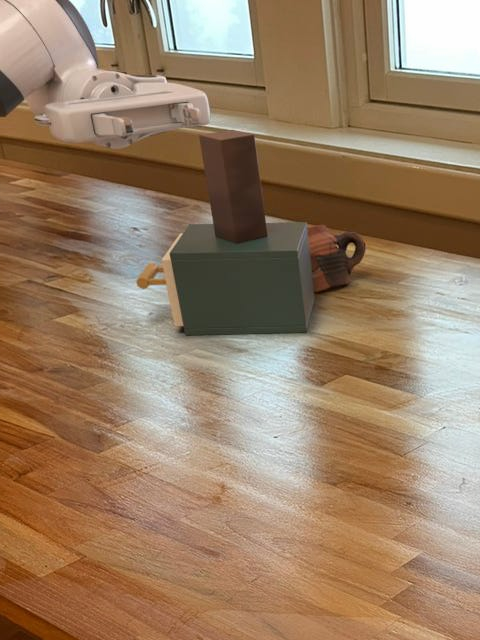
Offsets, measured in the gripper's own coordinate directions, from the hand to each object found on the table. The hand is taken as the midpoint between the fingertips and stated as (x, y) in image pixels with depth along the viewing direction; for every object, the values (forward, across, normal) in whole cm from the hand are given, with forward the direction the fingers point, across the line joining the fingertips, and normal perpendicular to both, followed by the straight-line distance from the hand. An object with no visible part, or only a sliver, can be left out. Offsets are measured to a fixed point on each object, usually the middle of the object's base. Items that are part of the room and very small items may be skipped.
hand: (162, 122), depth 116 cm
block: (+13, 0, +11) cm, 17 cm away
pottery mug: (+8, +16, +20) cm, 27 cm away
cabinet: (+14, 0, +20) cm, 24 cm away
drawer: (+11, -2, +20) cm, 23 cm away
